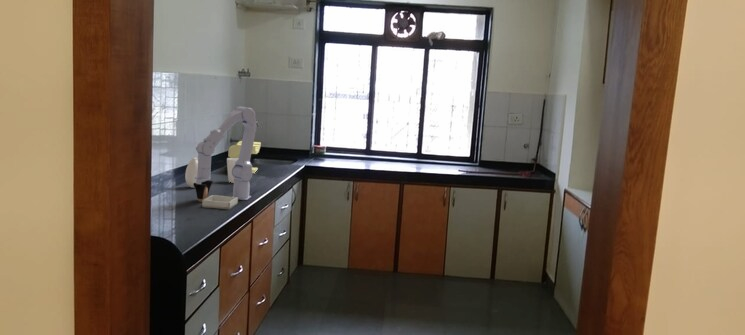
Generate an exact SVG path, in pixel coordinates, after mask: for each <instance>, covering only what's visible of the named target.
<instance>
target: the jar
mask: <svg viewBox="0 0 745 335" xmlns="http://www.w3.org/2000/svg"><path fill="white" fill-rule="evenodd" d="M207 193H208V188H207V187H206V188H205V190H204V195H203V199H198V198H197V202H201V203H202V200H204V199H206V198H207V197H208V196H207Z"/></svg>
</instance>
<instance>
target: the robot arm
mask: <svg viewBox="0 0 745 335" xmlns="http://www.w3.org/2000/svg"><path fill="white" fill-rule="evenodd" d="M256 115H257V113H256V112H255V111H254V109H253V108H252V107H247V106H240V105H237V106H236V107H234V108H233V110H231V111H230V112H229V115H228V116H227V118H226V119H225V120H224V121H223V122H222V124H221V125H220V126H219V127H218V128H217V129H215V128H214V129H213V130H210V133H209V134H208V135H207V136H206V137H205V138H204V139H203V141H200V142H199V143H197V146H196V147H195V150H196V152H197V156H198V157H197V161H198V171H197V177H195V179H197V180H196V183H194V184H193V185H194V187H195V188H194V190H195V192H196V199H197V200H198V199H203V195H204V190H205V188H206V187H207V188H208V193H207V197H209V193H210V190H211V186H212V184H213V183H214V180H211V177H212V176H211V170H212V169H211V168H212V167H211V166H212V154H214V152H215V148H216V147H217V146H218V145H219V144H220V143H221V141H222V140H223V139H224V137H225V136H224V135H225V133H226V132H227V131H228V130H230V129H231V128H232V127H233V126H234V125H235V124H236V123H241V124H242V125H243V127H244V130H243V135H242V139H241V141H242V144H241V149H240V154H239V159H238V160H237V161H236V162H235V165H234V167H233V168H232V175H233V177H234V183H233V189H232V196H231V197H238V200H241V201H247V200H249V199H250V198H252V195H250V190H251V189H250V188H251V184H250V180H251V179H252V177H253V173H252V167H253V165H252V162H251V159H252V158H251V157H252V154H251V153H252V148H253V143H254V142H255V138H256V132H257V127H258V126H257V124H258V123H257V120H256Z"/></svg>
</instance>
